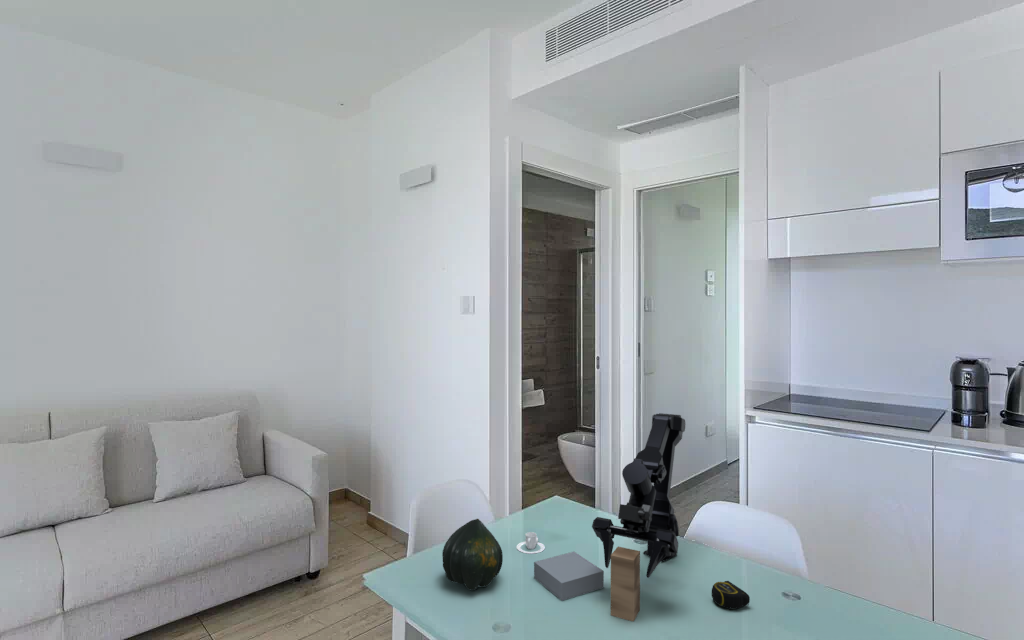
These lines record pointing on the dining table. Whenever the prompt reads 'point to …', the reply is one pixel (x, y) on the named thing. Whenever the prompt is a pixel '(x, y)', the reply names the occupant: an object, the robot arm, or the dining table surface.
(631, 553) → the walnut pillar
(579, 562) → the grey base block
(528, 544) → the teacup and saucer
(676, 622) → the dining table surface
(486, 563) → the squash
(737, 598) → the tape measure
